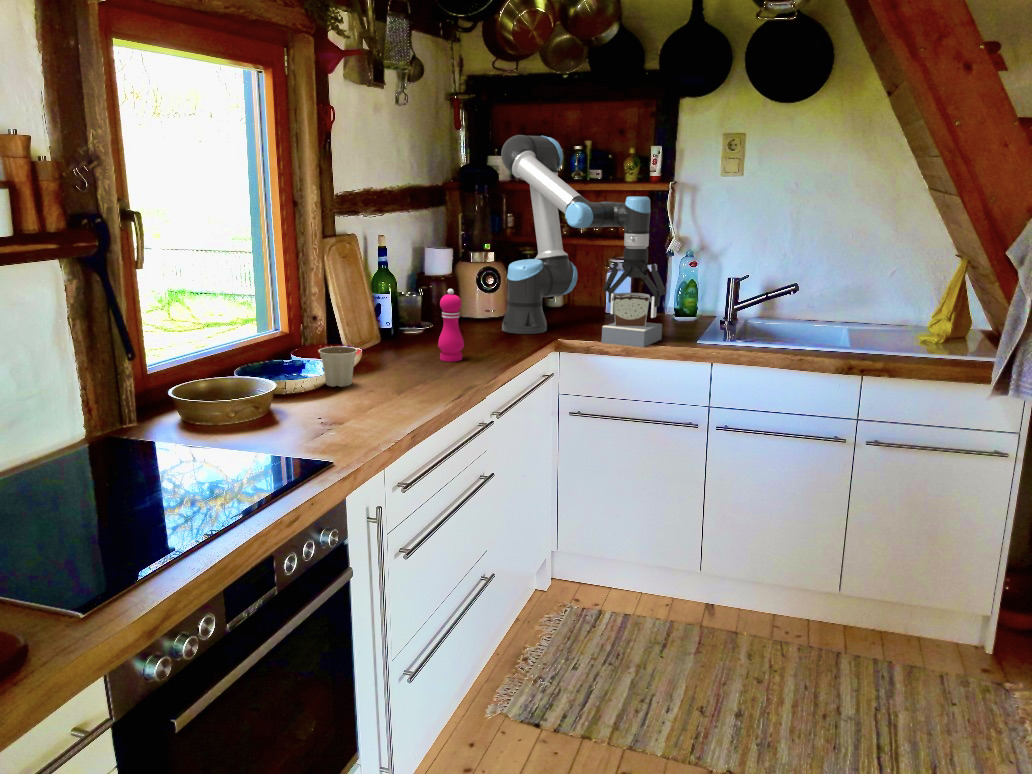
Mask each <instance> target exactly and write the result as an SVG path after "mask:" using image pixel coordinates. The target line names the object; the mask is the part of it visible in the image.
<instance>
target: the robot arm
mask: <svg viewBox="0 0 1032 774" xmlns="http://www.w3.org/2000/svg"><path fill="white" fill-rule="evenodd" d="M500 155H501V160H502V161H501V162H502V164H503V165H504V167H505V169H506V171H507V170H508V172H509V173H511V174H512V175H513V176H514V177H515V178H518V179H522V180H524V181H525V182H526V183H527V184H529V191H530V200H531V206H532V213H533V222H534V230H535V237H536V245H537V246H536V247H537V255H536V257H534V258H528V259H527V258H526V259H521V260H520V259H519V260H516V261H513V262H511V263H509V265H508V269H507V275H506V277H507V309H506V310H505V314H504V317H503V320H502V323H501V330H502V331H503V332H505V333H509V334H516V335H521V334H522V335H525V334H526V335H530V334H531V335H533V334H536V335H537V334H542V333H545V332H547V331H548V324H547V320H546V316H545V313H544V311H543V298H550V297H560V296H563V295H567V294H569V293H571V292H572V291H573V289H574V288H575V287H576V285H577V281H578V269H577V267H576V265H574V263H573V262H572V261H570V260H569V254H568V253H567V252H565V251H564V247H563V240H562V233H561V232H562V231H561V223H560V214H559V211H561V212H562V213H563V214H565V215H564V216H565V220H566V222H567V225H569V226H570V227H572V228H575V229H576V228H577V229H586V228H588V229H589V228H607V227H611V228H613V227H615V228H616V227H617V228H622V227H623V228H624V239H623V242H624V243H623V246H624V249H623V262H620V261H615V262H614V263H613V266H612V270H611V271H610V274H609V276H608V278H607V280H606V282H605V283H604V284H603V285H604V286H603V287H602V290H603V291H605V292H607V293H608V295H607V296H608V297H607V298H608V303H609V304H610V311H609V312H610V315H614V301H612V297H613V294H616V293H617V292H615V291H617V289H618V288H619V287H620V286H621V285H622V284H623V282H624V281H625V280H626V279H627V278H630V279H631V278H636V279H640V278H641V280H643V282H644V284H645V285H646V286H647V288H648V289H649V291H650V292H651V294H653V296H651V307H650V308H651V309H650V318H651V319H653V318H656V317H657V308H658V307H660V304H661V303H660V302H661V296H664V295H666V294H667V290H666V288H665V285H664V283H663V281H662V277H661V276H660V273H659V269H658V264H657V263H654V264H649V261H648V260H649V249H648V247H649V245H650V244H649V243H650V241H649V240H650V220H651V211H652V210H651V199H650V198H649V197H648V196H636V195H635V196H627V197H626V199H625V202H616V201H602V202H601V201H600V202H592V201H589V200H588V199H586V198H585V197H584V196H582V195H581V194H580V193H578V192H577V191H576V190H575V189H574V188H573V187H572V186H570V184H568V183H566V182H565V181H564V180H563V179H561V178H560V177H559V176H558V175H559V171H558V170H559V169H560V168H561V166H562V163H563V160H564V154H563V149H562V147H561V145H560V143H559V142H558V141H557V140H556V139H554V138H552V137H550V136H549V137H548V136H545V135H527V134H526V135H524V134H516V135H513V136H511V137H510V138H508V139H507V140H506V141H505V142H504V144H503V146H502V148H501V153H500ZM621 269H622V270H623V272H622V273H621V275H620V276H619V278H618V279H617V280H616V281H615V279H616V277H617V274H618V273H619V271H620V270H621ZM648 270H649V272H651V276H652V277H653V280H654V282H655V283H654V282H653V280H652V279H651V278H650V276H649V274H648V272H647V271H648ZM614 281H615V282H614Z"/></svg>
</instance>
